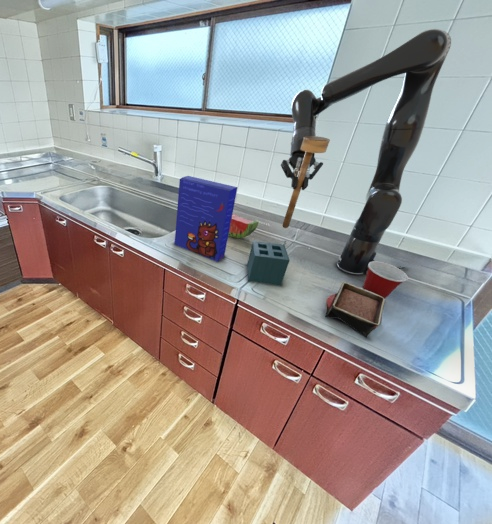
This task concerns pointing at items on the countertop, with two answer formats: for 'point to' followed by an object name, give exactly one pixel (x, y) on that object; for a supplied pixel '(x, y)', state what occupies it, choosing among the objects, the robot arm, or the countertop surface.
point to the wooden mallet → (305, 169)
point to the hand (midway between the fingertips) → (299, 188)
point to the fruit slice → (241, 227)
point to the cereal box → (204, 216)
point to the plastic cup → (383, 278)
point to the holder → (267, 263)
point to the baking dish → (356, 308)
